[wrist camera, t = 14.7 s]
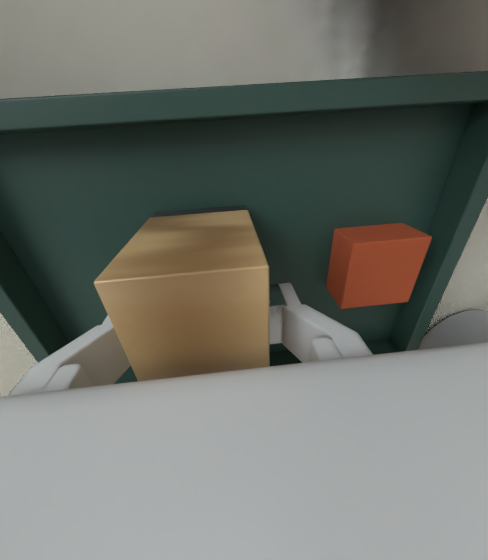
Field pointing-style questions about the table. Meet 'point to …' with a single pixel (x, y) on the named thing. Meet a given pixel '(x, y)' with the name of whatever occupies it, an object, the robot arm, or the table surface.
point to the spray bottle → (458, 330)
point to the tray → (239, 188)
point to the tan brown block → (190, 294)
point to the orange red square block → (375, 264)
